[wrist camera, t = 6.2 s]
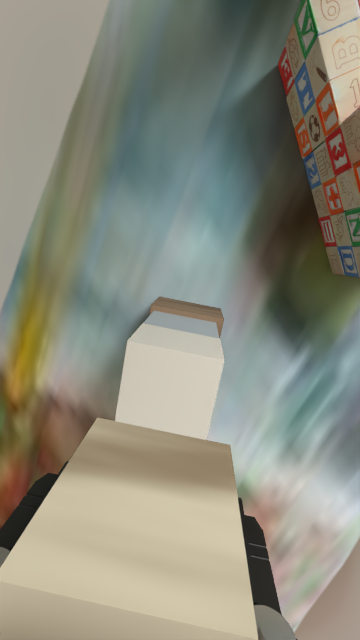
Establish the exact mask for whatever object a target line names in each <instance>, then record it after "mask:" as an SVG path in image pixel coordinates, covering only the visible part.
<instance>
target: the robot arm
mask: <svg viewBox="0 0 360 640" xmlns="http://www.w3.org/2000/svg"><path fill="white" fill-rule="evenodd" d="M68 462H69V461H67V462H66V463H65V465H64V466H63V468H62V469H61V471H60V472H59V474H58V475H56V474H52V473H47V474H46V475H45V476H43V477H42V478H40V479H39V480H37V481H36V482H35V483H34V484H33V486H32V487H31V489H30V490H29V491H28V493H27V495H26V496H25V497H24V498H23V499H22V501H21V502H20V504H19V506H17V508H16V509H15V510H14V512H13V513H12V514H11V516H10V517H9V518H8V520H7V521H6V523H5V524H4V525H3V527H2V528H1V529H0V567H1V566H2V564H3V563H4V561H5V560H6V558H7V557H8V555H9V553H10V552H11V550H12V549H13V547H14V546H15V544H16V543H17V541H18V540H19V538H20V536H21V535H22V533H23V532H24V530H25V529H26V527H27V526H28V524H29V523H30V521H31V519H32V518H33V516H34V515H35V513H36V512H37V510H38V509H39V507H40V506H41V504H42V502H43V501H44V499H45V498H46V496H47V495H48V493H49V492H50V490H51V489H52V487H53V485H54V484H55V482H56V481H57V479H58V478H59V476H60V475H61V473H62V472H63V470H64V468H65V467H66V465H67V464H68ZM238 503H239V510H240V517H241V523H242V530H243V537H244V544H245V551H246V558H247V564H248V571H249V578H250V585H251V592H252V599H253V606H254V612H255V619H256V626H257V633H258V640H297V639H296V637H295V635H294V632H293V630H292V628H291V627H290V625H289V623H288V622H287V621H286V620H285V618H284V617H283V616H282V614H281V611H280V606H279V602H278V597H277V593H276V588H275V584H274V579H273V574H272V570H271V565H270V561H269V556H268V552H267V549H266V543H265V538H264V533H263V530H262V529H261V527H260V525H259V524H258V522H257V521H256V519H255V517H251V516H246V515H244V510H243V504H242V499H241V498H239V497H238Z"/></svg>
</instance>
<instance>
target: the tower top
mask: <svg viewBox="0 0 360 640" xmlns="http://www.w3.org/2000/svg"><path fill="white" fill-rule="evenodd" d="M224 361H225V360H224V355H223V350H222V346H221V341H220V339H219V338H214V337H209V336H204V335H199V334H194V333H189V332H184V331H179V330H174V329H169V328H164V327H159V326H154V325H149V324H144V323H142V325H141V326H140V327H139V328H138V329H137V330H136V331H135V333H134V334H133V335H132V336H131V337H130V338H129V339H128V341H127V347H126V353H125V359H124V366H123V372H122V378H121V385H120V391H119V397H118V404H117V410H116V416H115V421H117V422H121V423H126V424H131V425H136V426H141V427H146V428H150V429H155V430H160V431H165V432H170V433H174V434H179V435H184V436H189V437H194V438H198V439H203V440H206V439H207V435H208V431H209V426H210V422H211V417H212V413H213V409H214V404H215V400H216V396H217V391H218V387H219V383H220V378H221V374H222V370H223V365H224Z"/></svg>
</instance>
